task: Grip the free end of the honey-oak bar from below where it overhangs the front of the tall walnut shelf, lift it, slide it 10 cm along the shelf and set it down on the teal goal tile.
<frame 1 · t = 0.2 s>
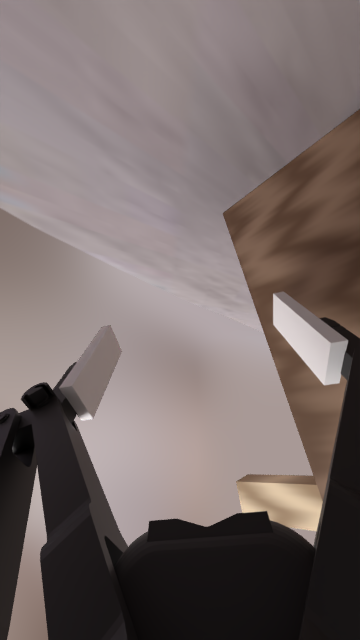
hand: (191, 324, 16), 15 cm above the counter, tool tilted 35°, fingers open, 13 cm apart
walnut shelf: (305, 240, 30), on the counter
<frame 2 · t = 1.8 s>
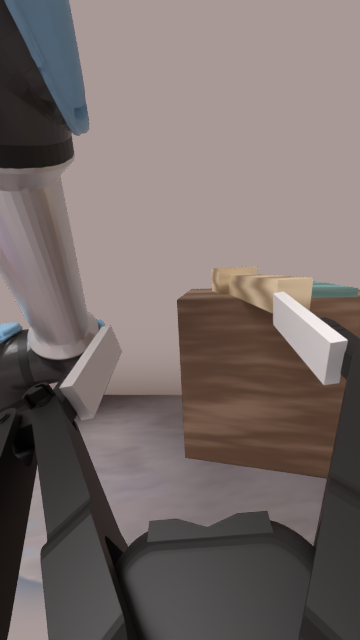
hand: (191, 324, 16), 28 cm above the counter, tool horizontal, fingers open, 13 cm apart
walnut shelf: (256, 434, 39), on the counter
oak bar: (236, 292, 33), point 28 cm above the counter, touching walnut shelf
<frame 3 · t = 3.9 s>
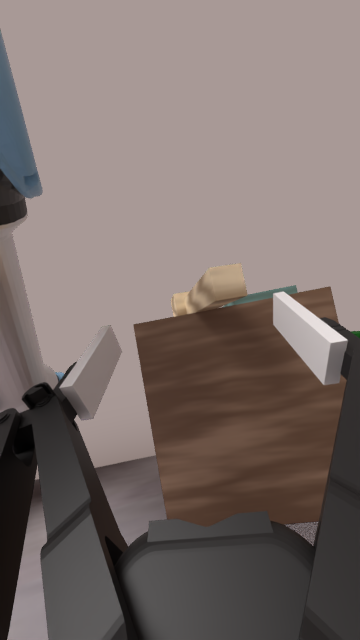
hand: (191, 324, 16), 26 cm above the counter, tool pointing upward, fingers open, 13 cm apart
walnut shelf: (255, 482, 32), on the counter
oak bar: (195, 315, 34), point 28 cm above the counter, touching walnut shelf
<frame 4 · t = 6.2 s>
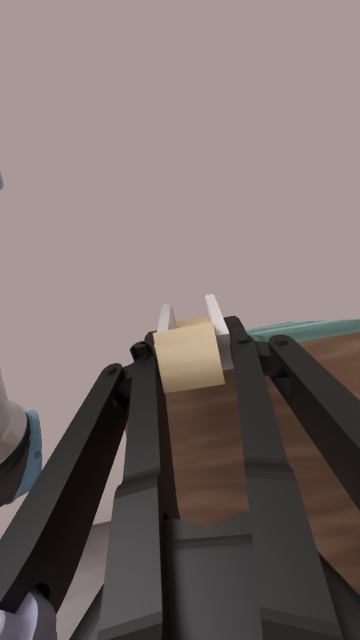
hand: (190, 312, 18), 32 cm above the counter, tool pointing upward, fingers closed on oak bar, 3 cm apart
walnut shelf: (287, 580, 23), on the counter
oak bar: (201, 348, 26), point 28 cm above the counter, touching gripper
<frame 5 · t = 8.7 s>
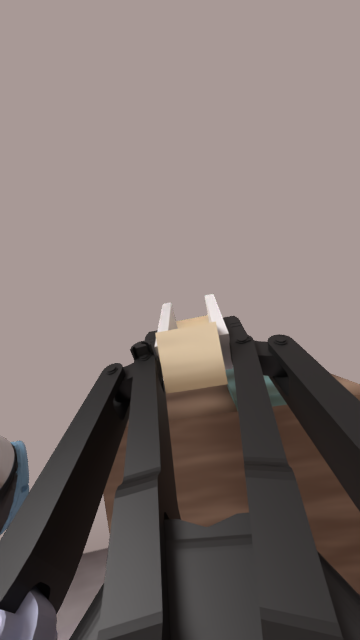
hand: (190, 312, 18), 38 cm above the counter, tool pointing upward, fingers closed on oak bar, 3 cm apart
walnut shelf: (263, 622, 24), on the counter
oak bar: (200, 349, 26), point 33 cm above the counter, touching gripper
when the fingers open (33 cm above the counter, at t = 11.3 s): oak bar stays where it is, resting on walnut shelf.
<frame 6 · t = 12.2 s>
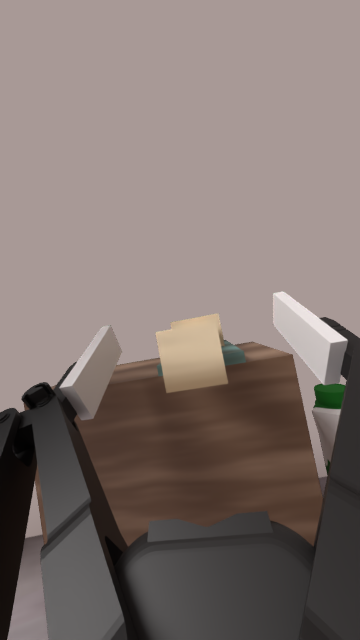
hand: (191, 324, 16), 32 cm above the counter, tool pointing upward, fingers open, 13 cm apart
walnut shelf: (203, 593, 24), on the counter
oak bar: (200, 349, 26), point 29 cm above the counter, touching walnut shelf
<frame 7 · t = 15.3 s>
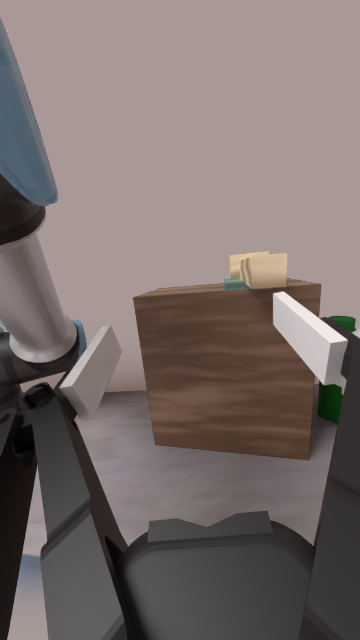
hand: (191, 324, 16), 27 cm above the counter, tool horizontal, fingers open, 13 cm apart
walnut shelf: (225, 422, 42), on the counter
oak bar: (248, 278, 34), point 29 cm above the counter, touching walnut shelf
milk carton: (345, 416, 40), on the counter
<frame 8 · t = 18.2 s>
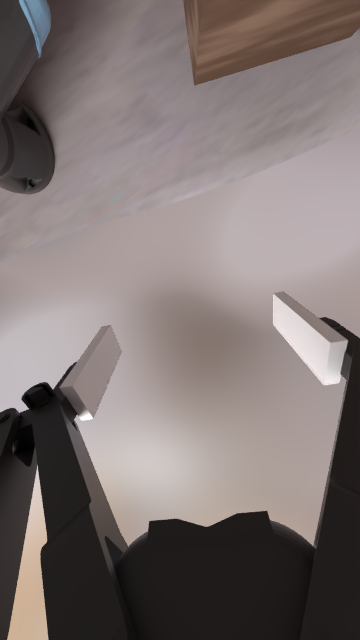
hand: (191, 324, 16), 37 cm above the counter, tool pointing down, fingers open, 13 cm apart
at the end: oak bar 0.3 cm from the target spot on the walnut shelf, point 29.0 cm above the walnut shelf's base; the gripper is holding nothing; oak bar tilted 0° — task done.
